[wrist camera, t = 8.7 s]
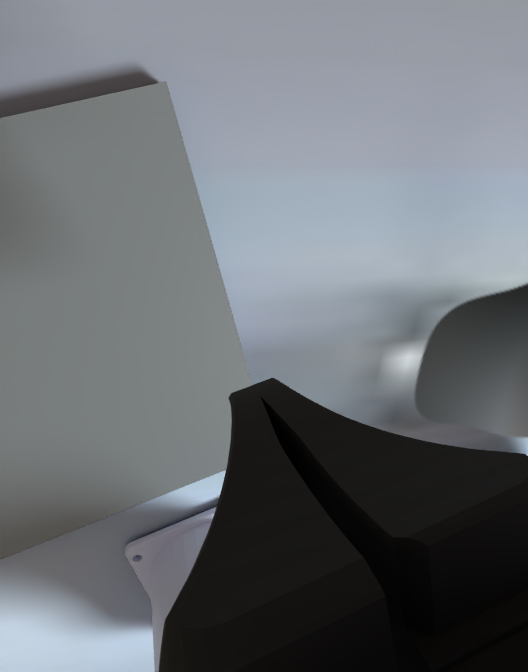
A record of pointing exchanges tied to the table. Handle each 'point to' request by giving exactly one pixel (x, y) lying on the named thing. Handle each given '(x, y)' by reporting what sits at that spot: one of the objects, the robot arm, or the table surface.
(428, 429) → the table surface
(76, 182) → the slate board
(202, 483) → the table surface
